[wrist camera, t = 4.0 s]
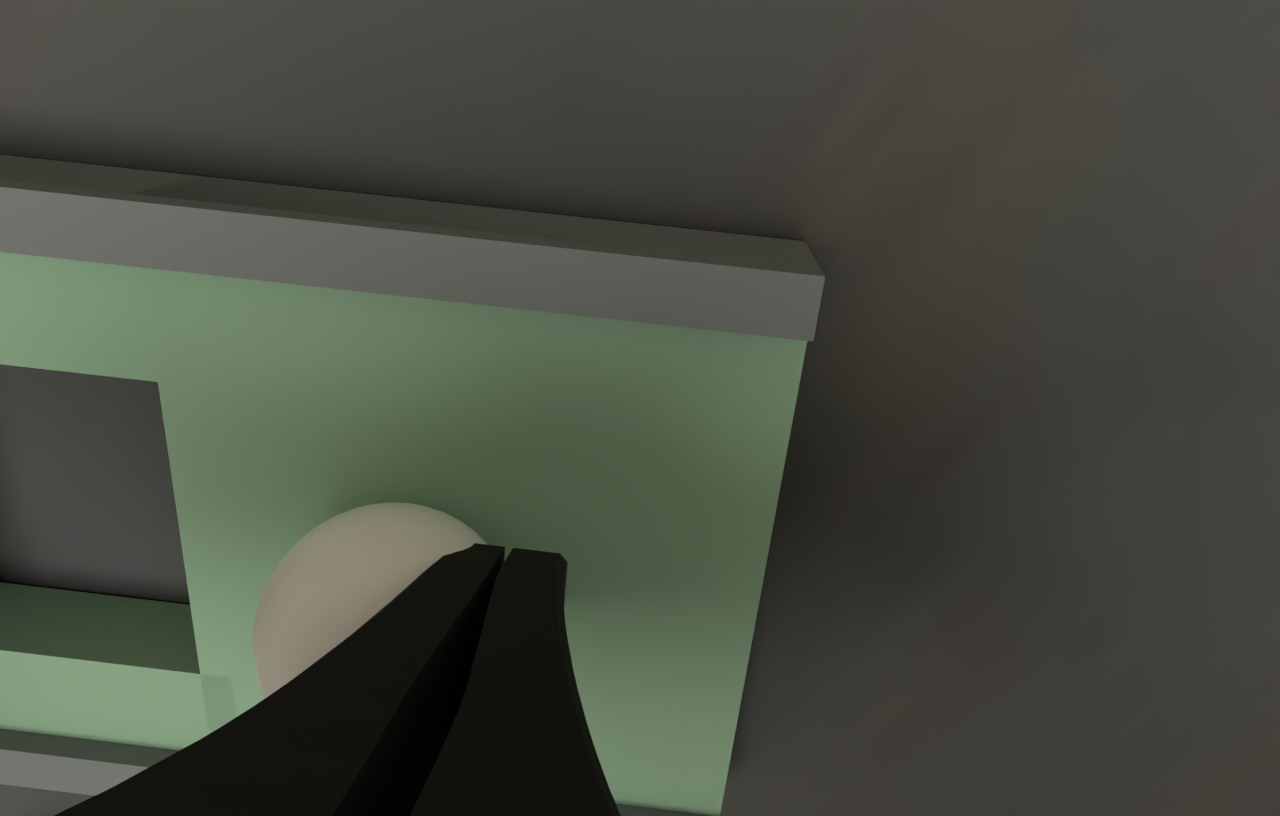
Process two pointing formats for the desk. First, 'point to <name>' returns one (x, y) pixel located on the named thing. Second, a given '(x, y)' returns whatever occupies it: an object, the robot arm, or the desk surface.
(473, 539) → the ball
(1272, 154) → the desk surface
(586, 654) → the green walled tray
